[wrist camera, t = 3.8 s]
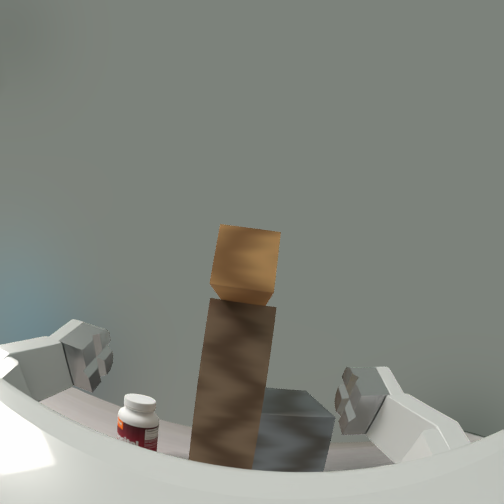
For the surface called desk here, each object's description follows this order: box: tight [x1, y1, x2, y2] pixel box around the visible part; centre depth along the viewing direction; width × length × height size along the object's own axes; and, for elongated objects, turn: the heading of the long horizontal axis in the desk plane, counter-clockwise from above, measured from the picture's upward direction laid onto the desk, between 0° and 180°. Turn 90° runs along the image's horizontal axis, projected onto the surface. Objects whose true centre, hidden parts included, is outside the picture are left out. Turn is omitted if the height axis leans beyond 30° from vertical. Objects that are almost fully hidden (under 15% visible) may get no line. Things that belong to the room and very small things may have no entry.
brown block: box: [210, 224, 281, 306], centre depth 27 cm, size 4×20×4 cm, turn 1°
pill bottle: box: [117, 394, 159, 452], centre depth 32 cm, size 6×6×11 cm
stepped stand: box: [189, 298, 335, 472], centre depth 28 cm, size 13×14×26 cm
